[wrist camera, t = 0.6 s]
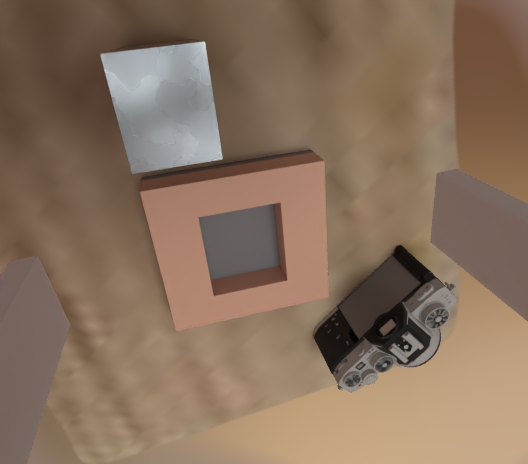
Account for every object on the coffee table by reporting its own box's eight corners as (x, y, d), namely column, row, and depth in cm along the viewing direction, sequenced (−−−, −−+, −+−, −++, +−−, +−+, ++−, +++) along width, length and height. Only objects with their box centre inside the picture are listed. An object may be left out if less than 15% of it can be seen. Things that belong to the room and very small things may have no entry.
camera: (345, 363, 49) (384, 434, 41) (297, 331, 45) (328, 402, 37) (440, 277, 46) (504, 333, 38) (398, 234, 42) (459, 286, 34)
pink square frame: (142, 177, 34) (139, 191, 31) (310, 149, 36) (324, 160, 33) (175, 308, 40) (176, 331, 37) (316, 278, 42) (328, 297, 39)
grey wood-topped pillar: (123, 46, 29) (99, 53, 19) (191, 39, 30) (204, 41, 20) (142, 128, 32) (131, 173, 22) (204, 119, 33) (222, 159, 22)
